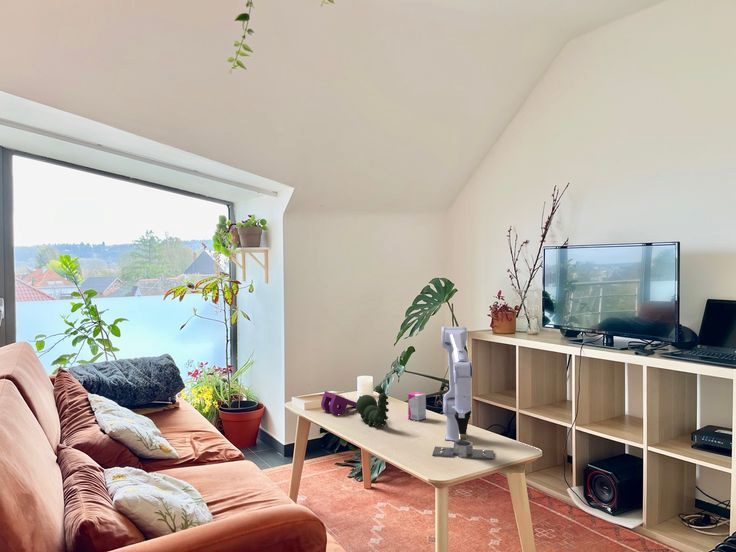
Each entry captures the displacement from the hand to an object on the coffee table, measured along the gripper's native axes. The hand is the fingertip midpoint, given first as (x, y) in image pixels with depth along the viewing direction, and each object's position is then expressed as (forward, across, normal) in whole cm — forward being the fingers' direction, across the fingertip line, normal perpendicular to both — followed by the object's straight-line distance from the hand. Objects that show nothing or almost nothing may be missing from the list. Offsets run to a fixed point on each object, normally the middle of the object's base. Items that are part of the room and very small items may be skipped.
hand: (463, 432), depth 205 cm
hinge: (+8, 0, 0) cm, 8 cm away
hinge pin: (+2, 0, 0) cm, 3 cm away
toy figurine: (+8, -32, -41) cm, 53 cm away
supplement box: (+8, -41, -23) cm, 48 cm away
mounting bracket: (+8, -48, -59) cm, 77 cm away
